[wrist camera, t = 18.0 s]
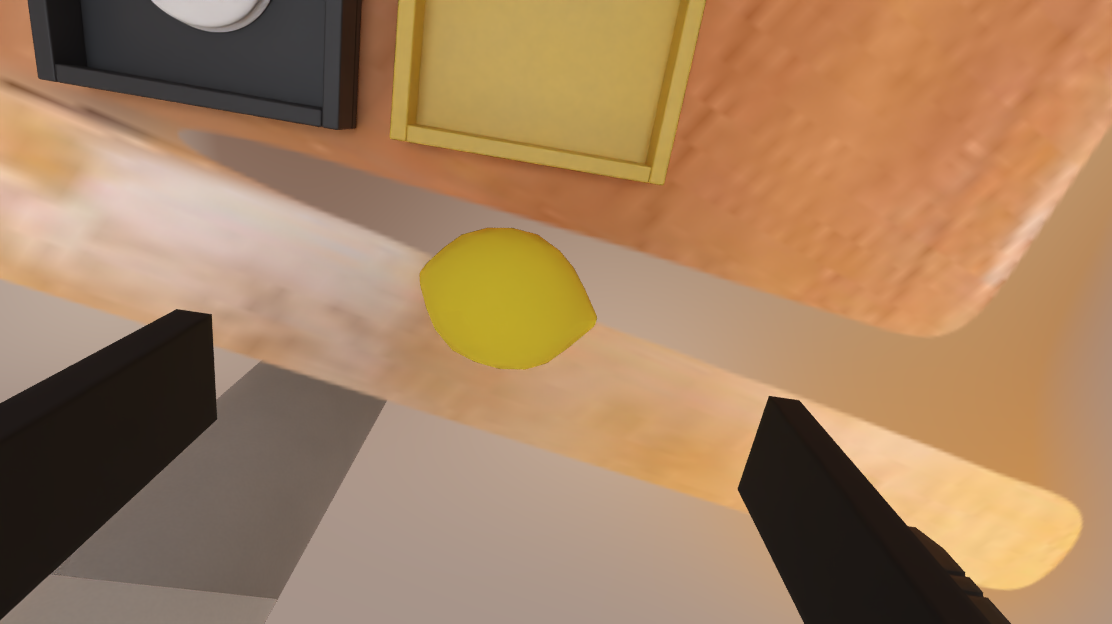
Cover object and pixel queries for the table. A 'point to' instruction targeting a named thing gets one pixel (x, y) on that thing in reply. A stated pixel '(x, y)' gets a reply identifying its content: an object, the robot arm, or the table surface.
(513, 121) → the yellow tray
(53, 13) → the charcoal tray
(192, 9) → the chess piece
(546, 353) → the lemon
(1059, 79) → the table surface
